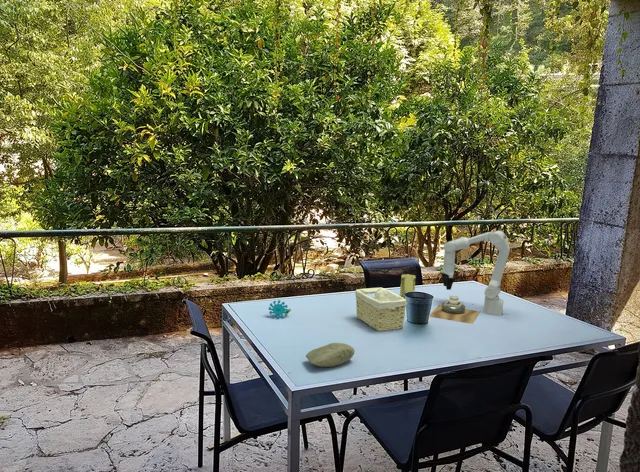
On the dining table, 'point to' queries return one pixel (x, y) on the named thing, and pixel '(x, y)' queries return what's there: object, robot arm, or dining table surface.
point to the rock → (331, 355)
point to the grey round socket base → (453, 308)
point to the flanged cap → (453, 300)
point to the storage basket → (380, 308)
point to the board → (456, 315)
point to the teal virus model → (279, 309)
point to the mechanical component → (407, 284)
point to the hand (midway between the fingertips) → (447, 287)
